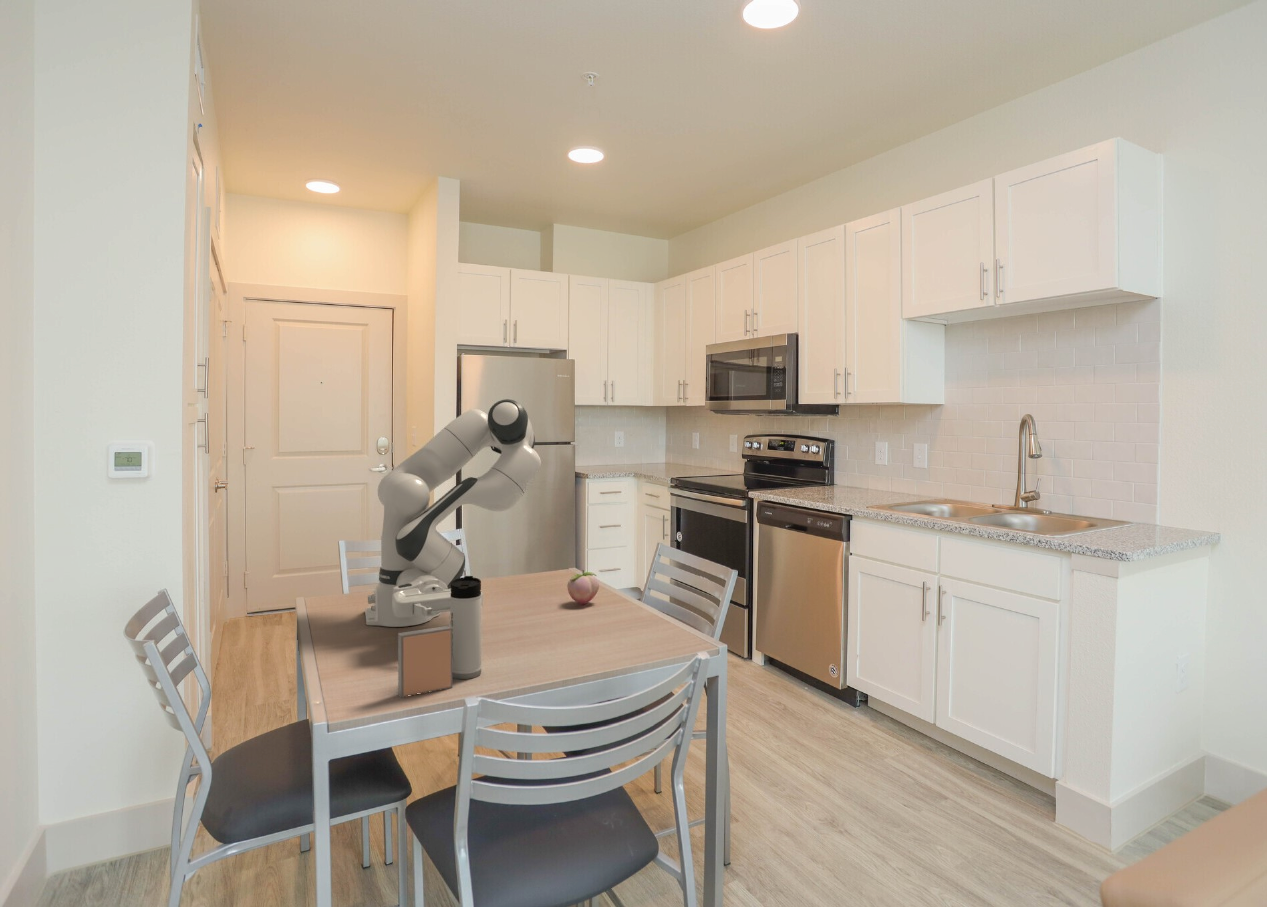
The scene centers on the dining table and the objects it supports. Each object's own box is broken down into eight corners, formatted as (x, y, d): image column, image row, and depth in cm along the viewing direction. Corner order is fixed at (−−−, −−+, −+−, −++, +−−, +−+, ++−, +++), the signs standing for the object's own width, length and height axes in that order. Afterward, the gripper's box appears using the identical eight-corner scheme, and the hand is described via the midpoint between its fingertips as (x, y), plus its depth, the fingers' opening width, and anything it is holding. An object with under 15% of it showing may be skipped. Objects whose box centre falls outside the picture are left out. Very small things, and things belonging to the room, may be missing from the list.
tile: (398, 694, 139) (397, 633, 138) (449, 684, 144) (448, 625, 144) (401, 698, 137) (401, 636, 137) (452, 688, 143) (452, 628, 142)
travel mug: (483, 668, 154) (483, 575, 153) (478, 679, 147) (478, 582, 146) (454, 668, 154) (454, 575, 153) (447, 679, 147) (447, 582, 146)
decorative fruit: (582, 598, 214) (583, 565, 213) (603, 603, 209) (603, 569, 208) (560, 605, 207) (560, 570, 206) (581, 610, 201) (581, 574, 201)
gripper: (470, 604, 177) (493, 617, 165) (385, 614, 165) (403, 630, 154) (471, 578, 177) (493, 590, 165) (386, 587, 165) (403, 600, 154)
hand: (449, 609), depth 159 cm, fingers open, 8 cm apart
